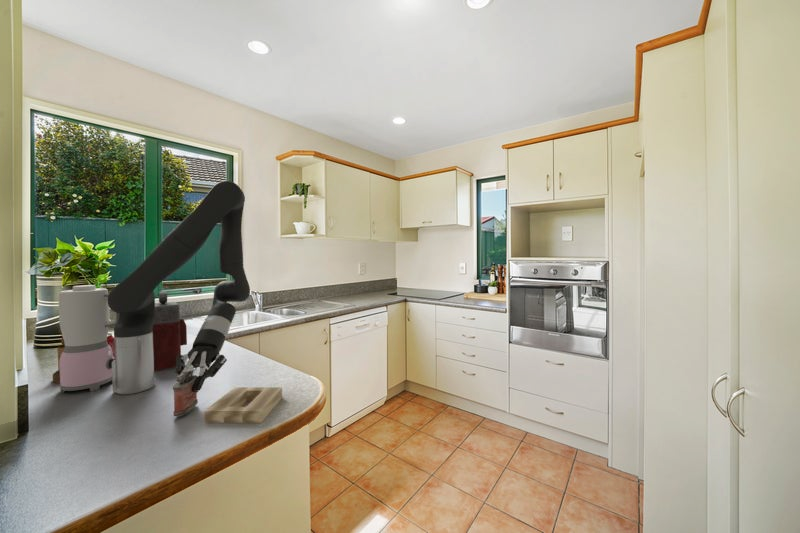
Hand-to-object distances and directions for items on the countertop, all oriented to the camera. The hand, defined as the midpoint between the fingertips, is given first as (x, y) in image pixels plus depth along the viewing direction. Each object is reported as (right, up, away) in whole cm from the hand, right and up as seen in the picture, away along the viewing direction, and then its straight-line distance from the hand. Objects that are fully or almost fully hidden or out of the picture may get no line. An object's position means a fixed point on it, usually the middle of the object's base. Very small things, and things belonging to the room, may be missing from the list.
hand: (187, 391), depth 85 cm
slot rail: (+15, -5, +1) cm, 16 cm away
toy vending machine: (-31, -4, +36) cm, 47 cm away
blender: (-41, -5, +17) cm, 44 cm away
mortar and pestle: (-56, -5, +23) cm, 60 cm away
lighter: (0, -5, 0) cm, 5 cm away
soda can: (-54, -4, +34) cm, 64 cm away
